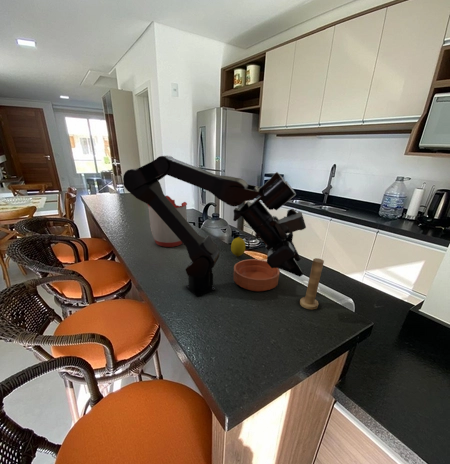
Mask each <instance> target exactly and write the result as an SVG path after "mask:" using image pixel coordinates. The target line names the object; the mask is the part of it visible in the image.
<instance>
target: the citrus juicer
mask: <svg viewBox="0 0 450 464" xmlns="http://www.w3.org/2000/svg"><path fill="white" fill-rule="evenodd" d="M165 196H166V197H167V199H168V200H169V201H170V202H171V203H172V204H173V206H174V207H175V208H176V209H177V210H178V211H179V213H180V214H181V215H182V216H183V217H184V218H185V220H186V221H187V222H188V215H187V214H188V213H187V211H188V210H187V205H188V203H187V202H186V201H183V202H181V203H180V204H181V205H177V204H176V201H175V199H172V198H171V197H170V196H169V195H165ZM146 205H147V208H148V217H149V226H150V231H151V235H152V238H153V240H154V242H155V244H156V245H158V246H161V247H166V248H173V247H179V246H181V245H183V243H182V242H181V240H180V239H179V238H178V237H177V236H176V235H175V234H174V232H173V231H172V230H171V229H170V228H169V227H168V226H167V225H166V223H165V222H164V221H163V220H162V219H161V218H160V217H159V216H158V214H157V213H156V212H155V211H154V210H153V209H152V208H151V206H149V205H148V204H146Z"/></svg>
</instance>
